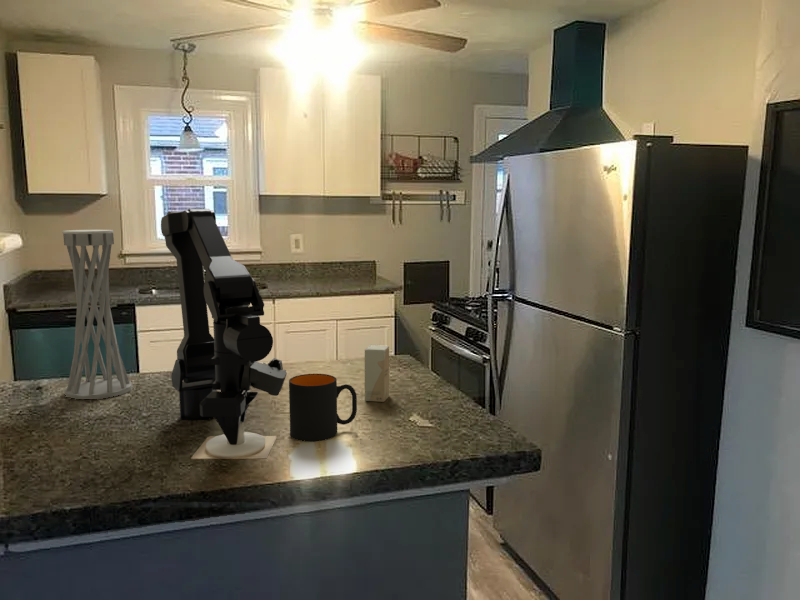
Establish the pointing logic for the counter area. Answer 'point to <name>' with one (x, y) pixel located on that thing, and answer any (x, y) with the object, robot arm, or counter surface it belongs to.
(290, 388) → the mug
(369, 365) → the box
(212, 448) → the lid
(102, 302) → the vase
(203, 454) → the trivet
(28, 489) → the counter surface
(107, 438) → the counter surface
